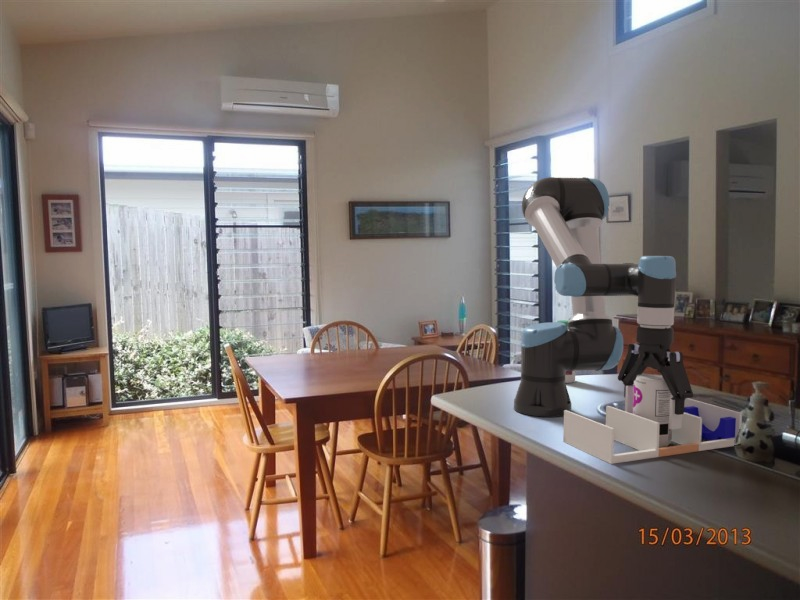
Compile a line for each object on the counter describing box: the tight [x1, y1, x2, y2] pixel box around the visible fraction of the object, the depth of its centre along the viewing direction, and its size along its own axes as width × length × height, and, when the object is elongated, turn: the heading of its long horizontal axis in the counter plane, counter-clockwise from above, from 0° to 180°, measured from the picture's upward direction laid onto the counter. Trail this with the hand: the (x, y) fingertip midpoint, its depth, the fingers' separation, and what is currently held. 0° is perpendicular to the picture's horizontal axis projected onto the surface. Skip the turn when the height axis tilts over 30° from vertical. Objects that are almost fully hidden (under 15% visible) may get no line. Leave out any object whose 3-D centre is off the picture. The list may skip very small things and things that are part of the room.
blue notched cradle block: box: [684, 406, 736, 441], centre depth 147 cm, size 12×4×6 cm, turn 21°
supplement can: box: [633, 373, 673, 448], centre depth 142 cm, size 8×8×15 cm
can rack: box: [562, 398, 743, 465], centre depth 142 cm, size 35×16×7 cm, turn 111°
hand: (651, 420), depth 142 cm, fingers open, 13 cm apart
